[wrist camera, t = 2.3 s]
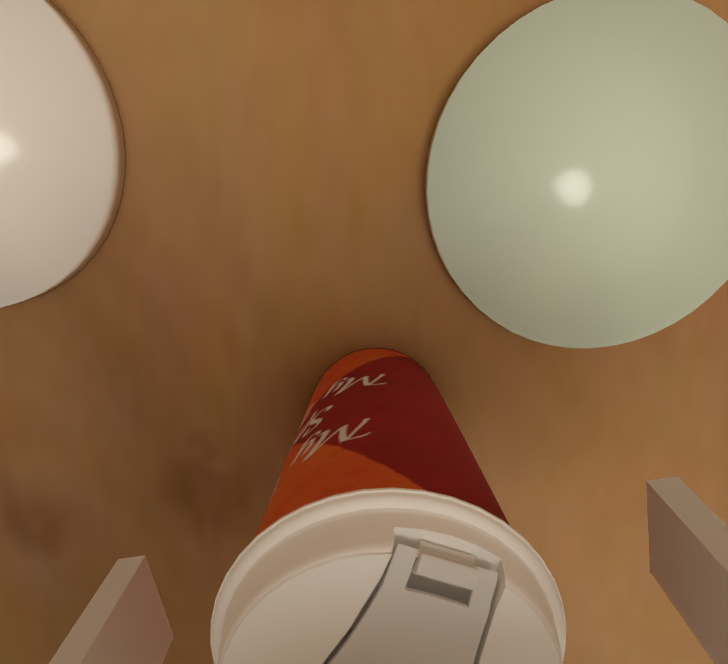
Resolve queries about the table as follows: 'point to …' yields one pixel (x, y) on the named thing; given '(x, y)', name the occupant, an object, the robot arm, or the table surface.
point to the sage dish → (587, 171)
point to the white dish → (53, 151)
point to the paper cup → (385, 541)
